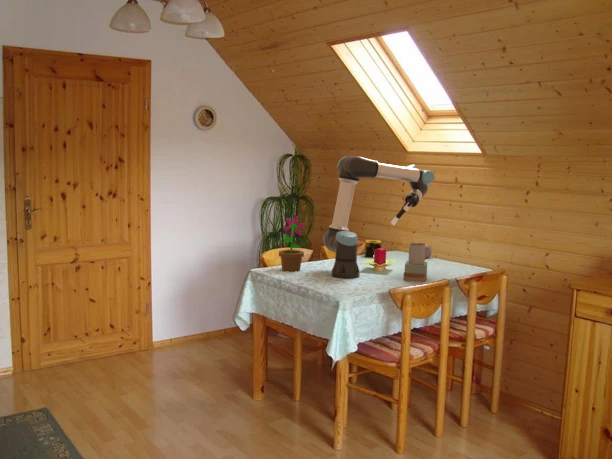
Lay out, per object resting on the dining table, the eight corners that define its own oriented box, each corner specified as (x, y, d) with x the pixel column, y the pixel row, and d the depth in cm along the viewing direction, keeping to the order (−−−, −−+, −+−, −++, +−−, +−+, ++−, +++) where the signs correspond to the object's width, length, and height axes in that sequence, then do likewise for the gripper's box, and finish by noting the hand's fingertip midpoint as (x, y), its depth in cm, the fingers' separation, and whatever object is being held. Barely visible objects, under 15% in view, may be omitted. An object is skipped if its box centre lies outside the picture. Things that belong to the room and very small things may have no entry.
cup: (412, 264, 333) (413, 245, 332) (405, 261, 341) (406, 243, 339) (427, 264, 335) (428, 245, 334) (419, 261, 343) (420, 243, 342)
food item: (421, 256, 409) (422, 241, 407) (432, 258, 403) (432, 242, 402) (408, 258, 399) (409, 243, 398) (419, 260, 394) (420, 244, 392)
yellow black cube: (380, 255, 407) (381, 240, 406) (381, 258, 397) (381, 242, 396) (364, 254, 408) (365, 239, 407) (364, 257, 398) (365, 242, 397)
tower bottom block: (424, 282, 333) (424, 274, 332) (403, 280, 336) (403, 272, 335) (426, 278, 343) (427, 270, 342) (406, 276, 346) (406, 268, 345)
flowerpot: (306, 268, 360) (307, 216, 355) (300, 273, 346) (301, 218, 342) (282, 266, 363) (283, 214, 359) (274, 271, 349) (275, 217, 345)
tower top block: (425, 274, 332) (426, 265, 331) (404, 272, 335) (404, 264, 334) (427, 270, 343) (427, 261, 342) (406, 268, 345) (406, 260, 345)
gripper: (430, 189, 352) (416, 208, 337) (406, 215, 369) (392, 234, 355) (420, 180, 352) (405, 199, 337) (397, 206, 370) (381, 225, 355)
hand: (398, 217), depth 346 cm, fingers open, 13 cm apart
